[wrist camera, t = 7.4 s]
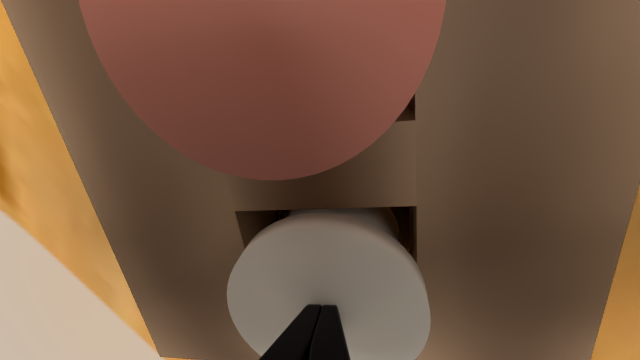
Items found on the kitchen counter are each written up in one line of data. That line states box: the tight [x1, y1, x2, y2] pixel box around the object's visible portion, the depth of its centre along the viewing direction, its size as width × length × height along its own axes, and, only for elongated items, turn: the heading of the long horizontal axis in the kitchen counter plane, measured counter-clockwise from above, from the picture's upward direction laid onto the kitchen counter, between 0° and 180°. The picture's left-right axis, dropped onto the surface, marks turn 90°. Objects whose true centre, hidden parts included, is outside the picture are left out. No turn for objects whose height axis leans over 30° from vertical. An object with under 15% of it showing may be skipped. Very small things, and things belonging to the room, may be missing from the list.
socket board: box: [1, 0, 640, 360], centre depth 9 cm, size 15×23×3 cm, turn 7°
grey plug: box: [227, 207, 431, 360], centre depth 11 cm, size 6×6×4 cm
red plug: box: [79, 0, 446, 180], centre depth 7 cm, size 6×6×4 cm
